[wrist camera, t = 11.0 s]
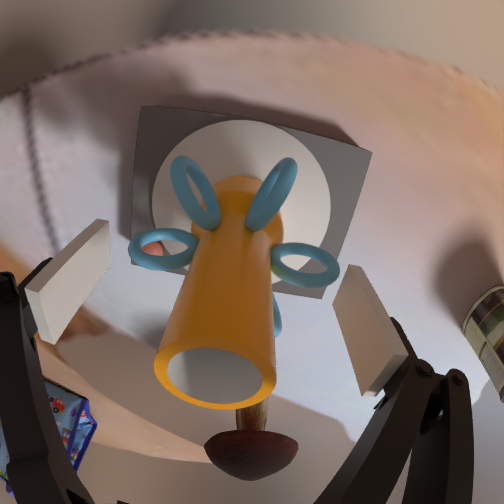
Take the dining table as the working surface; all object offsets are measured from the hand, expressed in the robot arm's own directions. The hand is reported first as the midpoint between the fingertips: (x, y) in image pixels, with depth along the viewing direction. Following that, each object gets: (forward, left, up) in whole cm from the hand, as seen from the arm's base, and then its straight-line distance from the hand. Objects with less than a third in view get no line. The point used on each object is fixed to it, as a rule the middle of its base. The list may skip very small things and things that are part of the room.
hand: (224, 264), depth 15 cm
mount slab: (0, 0, -11) cm, 12 cm away
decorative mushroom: (+6, -25, -12) cm, 28 cm away
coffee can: (+39, -8, -12) cm, 42 cm away
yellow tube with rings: (0, 0, -8) cm, 8 cm away
